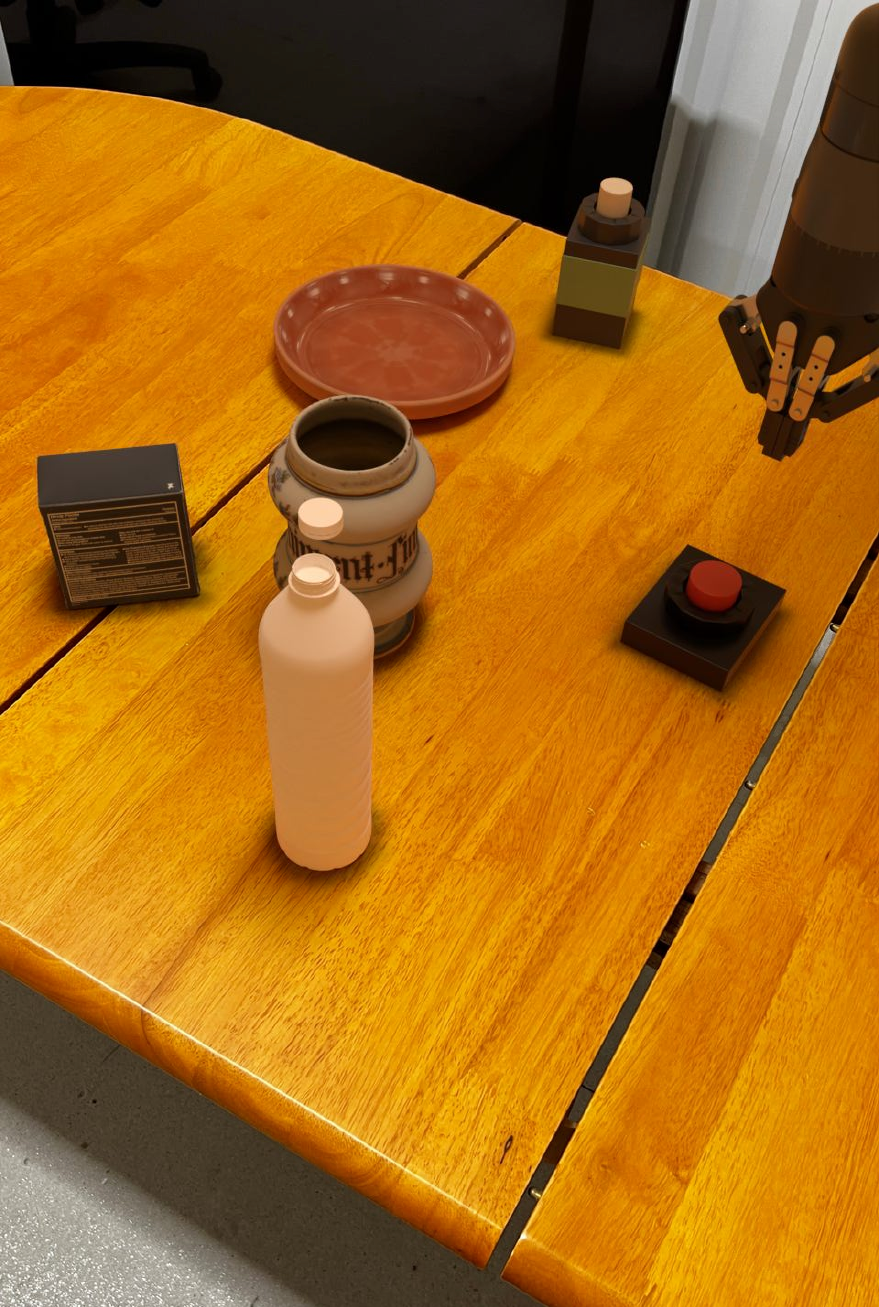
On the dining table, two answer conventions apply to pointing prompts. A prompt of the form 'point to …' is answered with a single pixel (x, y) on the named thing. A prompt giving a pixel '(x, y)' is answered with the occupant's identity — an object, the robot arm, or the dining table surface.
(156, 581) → the small box
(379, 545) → the apothecary jar
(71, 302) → the dining table surface
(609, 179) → the tan cylindrical peg
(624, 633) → the button housing
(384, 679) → the dining table surface
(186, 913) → the dining table surface
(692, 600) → the bell button
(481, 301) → the saucer
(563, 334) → the pump bottle
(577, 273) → the pump bottle label
